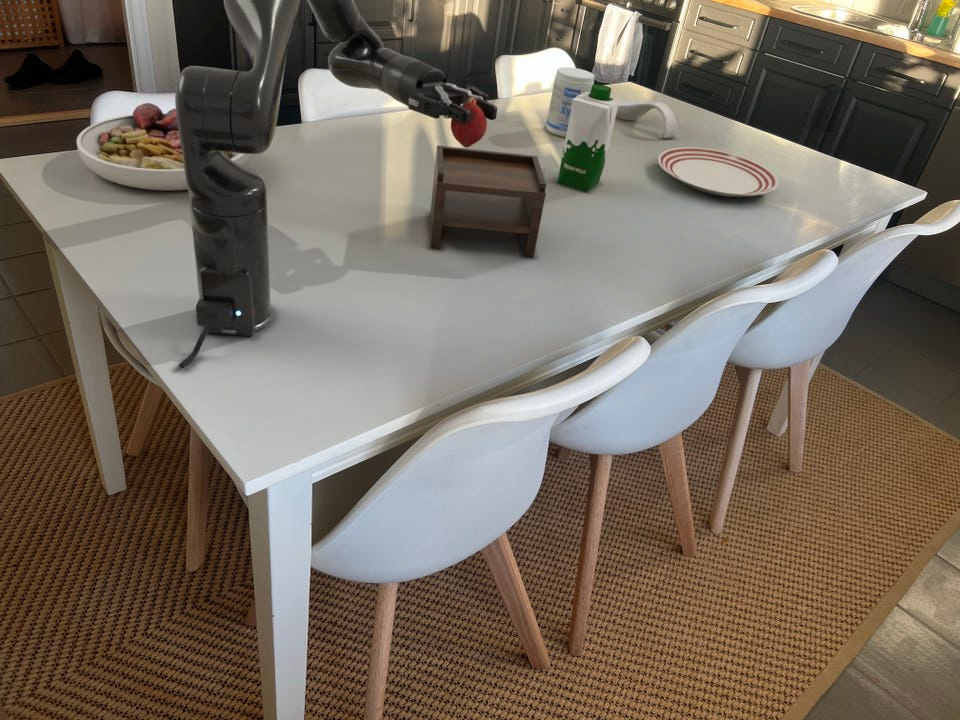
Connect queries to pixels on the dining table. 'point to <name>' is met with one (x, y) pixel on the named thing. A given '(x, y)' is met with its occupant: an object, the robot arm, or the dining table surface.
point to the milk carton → (588, 138)
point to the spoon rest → (637, 109)
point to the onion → (470, 125)
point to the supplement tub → (566, 97)
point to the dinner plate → (718, 172)
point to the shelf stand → (487, 193)
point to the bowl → (139, 150)
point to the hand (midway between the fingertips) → (481, 115)
